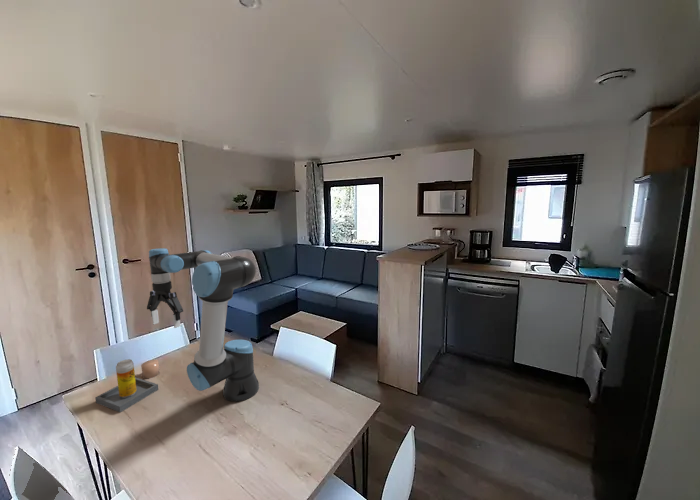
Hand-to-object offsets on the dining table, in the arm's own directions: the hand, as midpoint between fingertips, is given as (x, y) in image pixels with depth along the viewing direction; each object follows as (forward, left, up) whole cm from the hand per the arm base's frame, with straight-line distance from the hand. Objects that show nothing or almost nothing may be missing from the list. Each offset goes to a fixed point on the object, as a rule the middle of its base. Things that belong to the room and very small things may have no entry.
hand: (166, 325), depth 139 cm
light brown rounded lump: (+12, +2, -27) cm, 29 cm away
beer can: (+5, +17, -26) cm, 32 cm away
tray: (+5, +17, -27) cm, 32 cm away
